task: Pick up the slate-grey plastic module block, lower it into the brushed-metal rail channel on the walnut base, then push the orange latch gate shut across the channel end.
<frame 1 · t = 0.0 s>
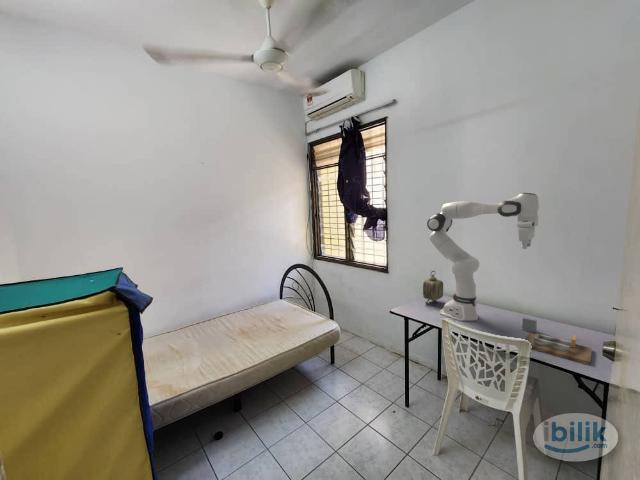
hand: (526, 247, 145), 48 cm above the table, fingers open, 8 cm apart
rail base: (556, 348, 131), on the table
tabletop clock: (433, 303, 200), on the table
module: (529, 330, 150), on the table
latch gate: (573, 341, 130), point 4 cm above the table, slide at 6.0 cm
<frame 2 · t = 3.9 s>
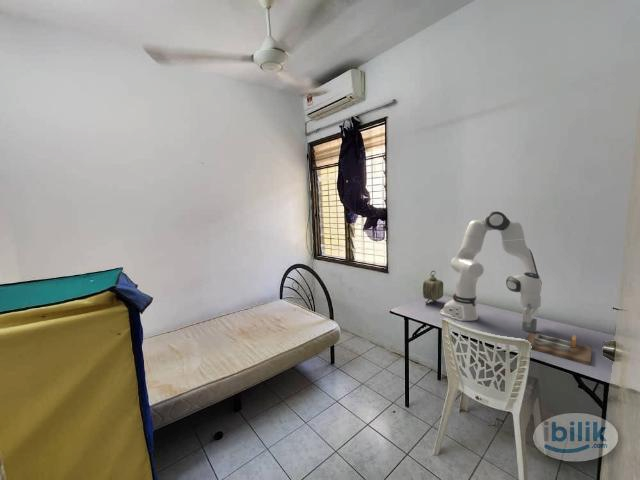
hand: (529, 325, 150), 3 cm above the table, fingers closed on module, 3 cm apart
module: (529, 330, 150), on the table, touching gripper
everything else where it was.
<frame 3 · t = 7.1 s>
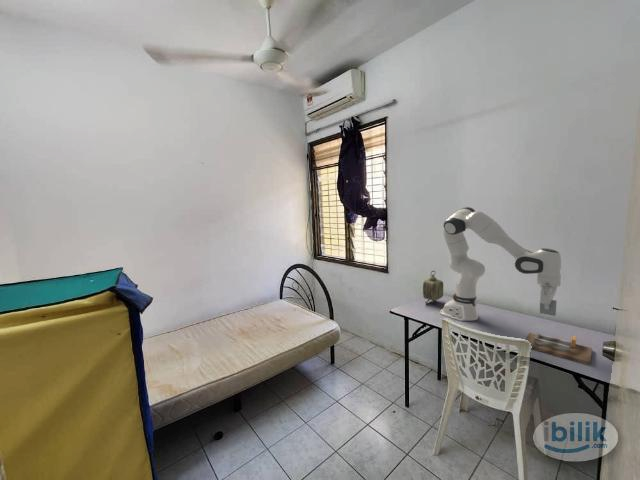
hand: (547, 307, 133), 19 cm above the table, fingers closed on module, 3 cm apart
module: (547, 313, 134), point 16 cm above the table, touching gripper
everything else where it was.
when the fingers open (6 cm above the table, at t = 10.3 s): module stays where it is, resting on rail base.
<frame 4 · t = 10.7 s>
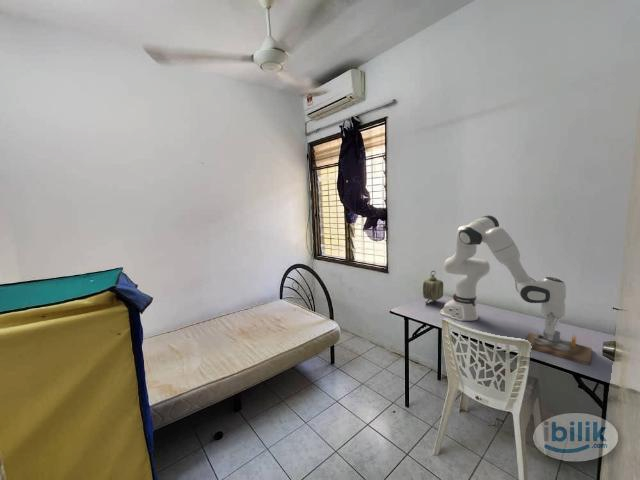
hand: (551, 336, 132), 6 cm above the table, fingers open, 7 cm apart
module: (551, 344, 132), point 1 cm above the table, touching rail base
everything else where it was.
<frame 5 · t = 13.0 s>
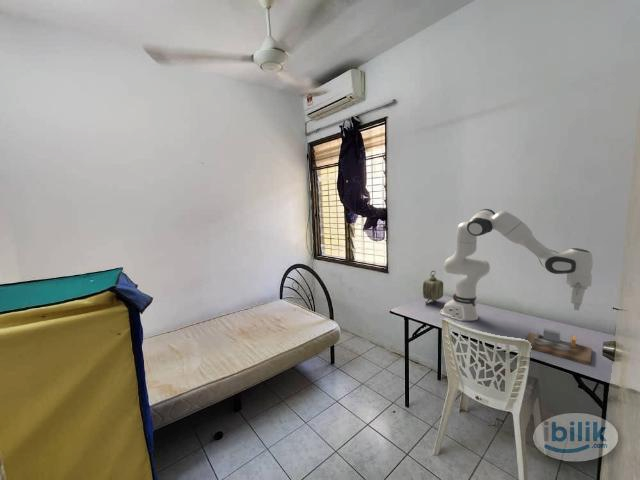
hand: (577, 307, 132), 19 cm above the table, fingers open, 5 cm apart
nothing on the table moved.
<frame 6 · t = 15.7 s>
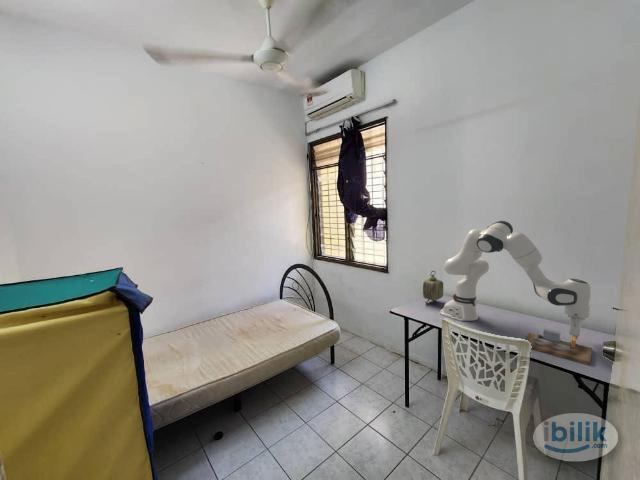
hand: (575, 337, 132), 4 cm above the table, fingers closed
latch gate: (573, 341, 129), point 4 cm above the table, slide at 4.9 cm, touching gripper
everything else where it was.
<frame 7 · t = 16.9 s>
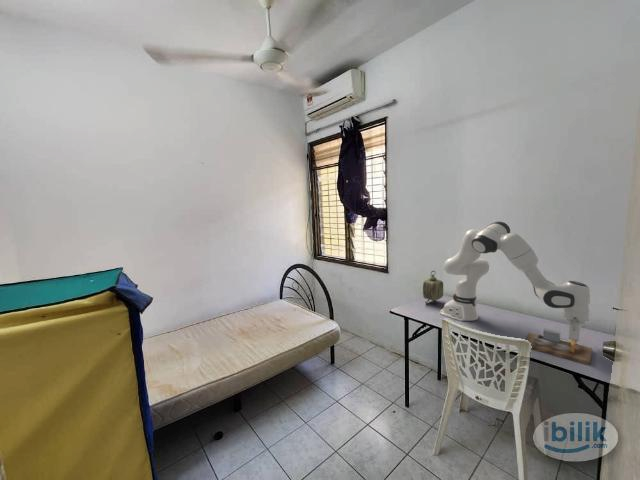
hand: (574, 341, 129), 4 cm above the table, fingers closed
latch gate: (572, 345, 126), point 4 cm above the table, slide at -0.1 cm, touching gripper
everything else where it was.
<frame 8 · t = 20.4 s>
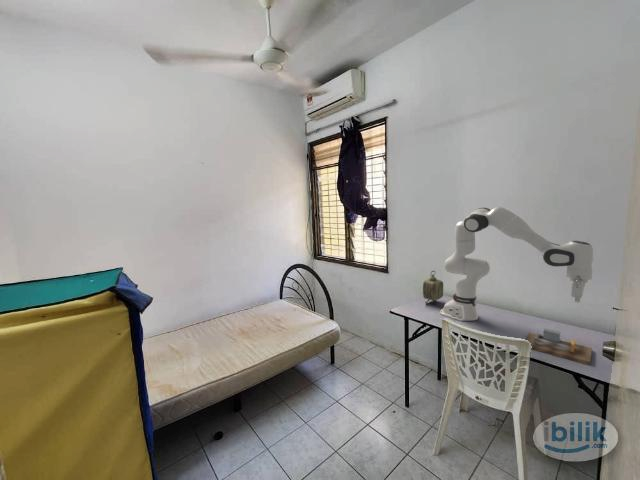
hand: (577, 301, 130), 23 cm above the table, fingers closed
latch gate: (572, 345, 126), point 4 cm above the table, slide at 0.0 cm
everything else where it was.
at the end: module 0.5 cm from the target spot on the rail base, point 1.5 cm above the rail base's base; module tilted 0°; latch gate slide at 0.0 cm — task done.
